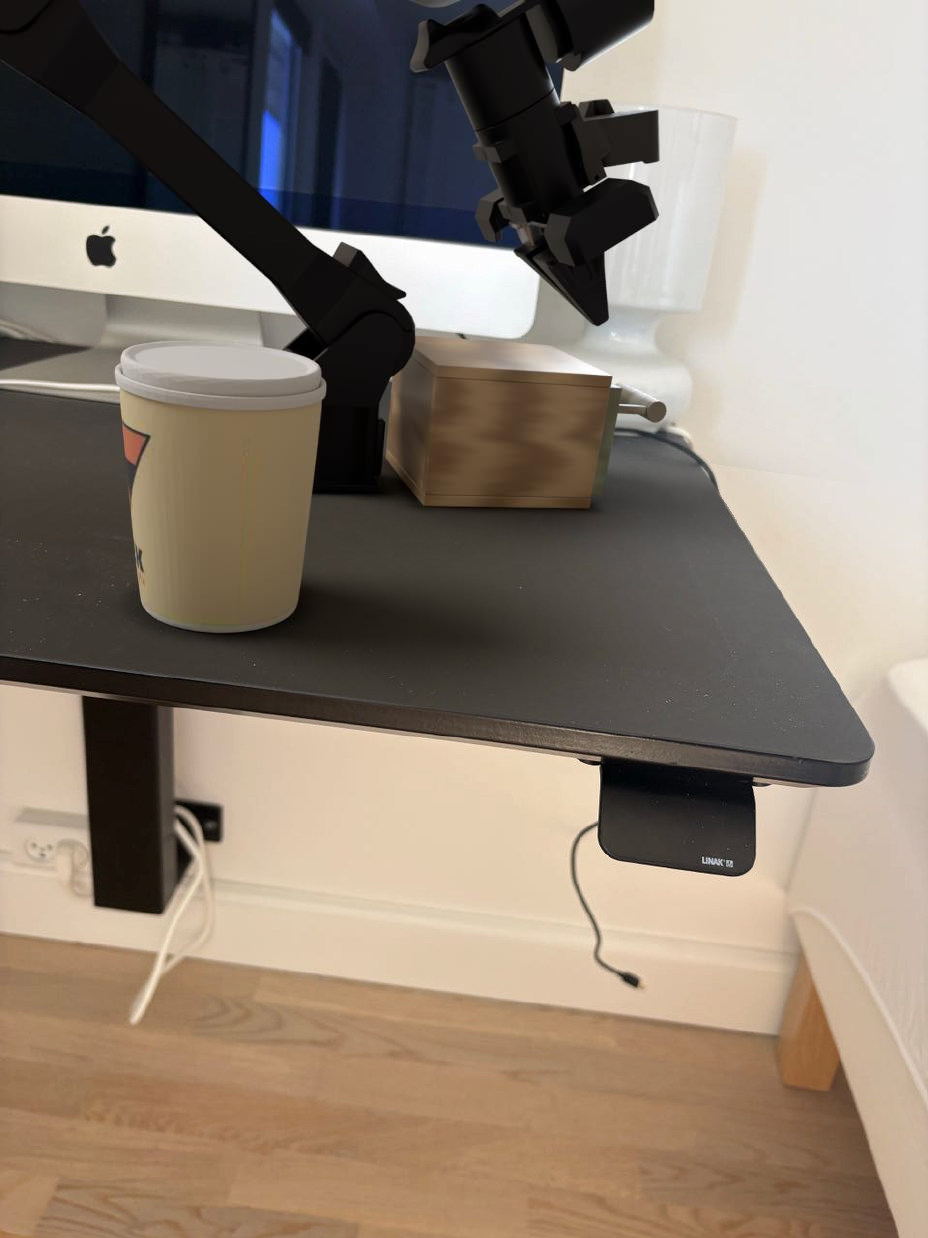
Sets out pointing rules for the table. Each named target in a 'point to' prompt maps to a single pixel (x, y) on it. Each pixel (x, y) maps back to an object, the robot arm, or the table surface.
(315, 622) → the table surface
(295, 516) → the coffee cup
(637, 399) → the drawer
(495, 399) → the cabinet
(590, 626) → the table surface
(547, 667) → the table surface
